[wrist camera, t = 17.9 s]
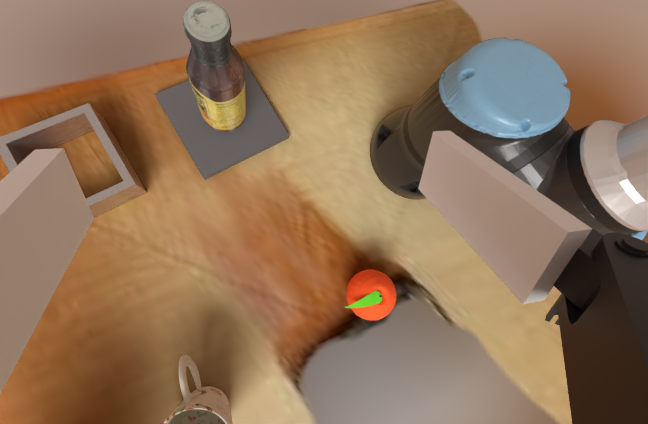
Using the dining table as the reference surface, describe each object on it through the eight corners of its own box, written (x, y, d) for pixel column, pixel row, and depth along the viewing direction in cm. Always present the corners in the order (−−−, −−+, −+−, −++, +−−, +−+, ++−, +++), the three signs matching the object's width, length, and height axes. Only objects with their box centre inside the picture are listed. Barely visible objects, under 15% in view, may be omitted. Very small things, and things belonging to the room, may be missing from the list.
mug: (180, 459, 40) (157, 519, 31) (154, 359, 42) (124, 386, 32) (246, 429, 42) (244, 476, 33) (219, 334, 44) (210, 353, 34)
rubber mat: (243, 62, 51) (242, 58, 50) (288, 138, 50) (289, 135, 49) (156, 97, 47) (154, 94, 46) (204, 179, 47) (203, 177, 46)
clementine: (344, 327, 47) (359, 337, 40) (327, 281, 48) (339, 283, 41) (391, 305, 49) (413, 311, 42) (374, 262, 50) (394, 261, 43)
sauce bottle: (202, 94, 48) (167, -22, 28) (245, 96, 49) (240, -15, 30) (202, 136, 47) (167, 45, 27) (247, 137, 48) (243, 50, 29)
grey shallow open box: (104, 118, 45) (88, 102, 41) (146, 192, 45) (135, 184, 40) (18, 153, 42) (-8, 140, 38) (63, 232, 42) (41, 228, 37)
